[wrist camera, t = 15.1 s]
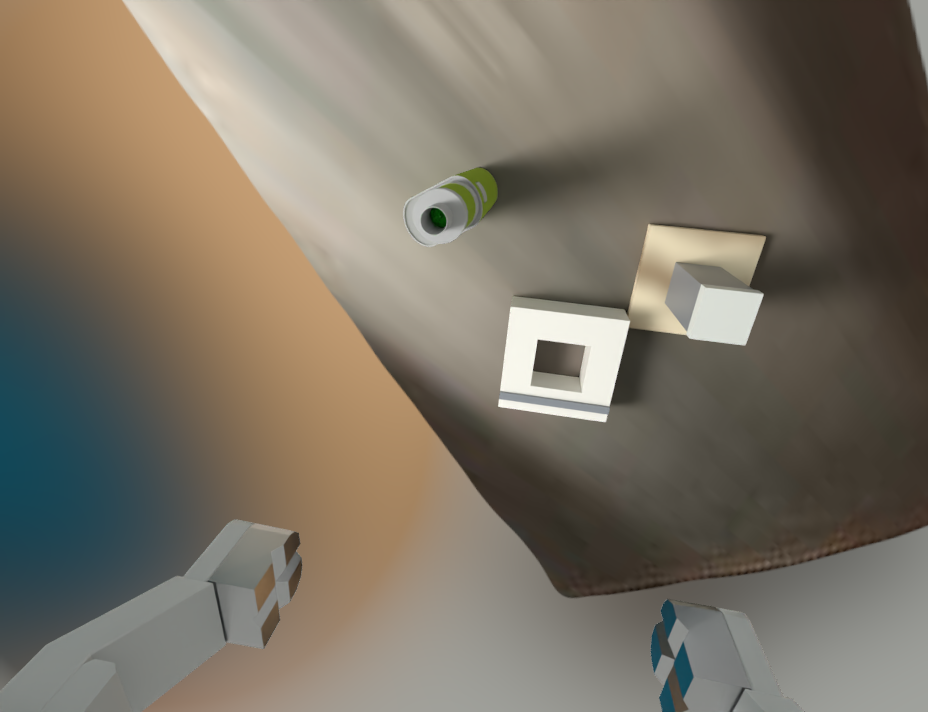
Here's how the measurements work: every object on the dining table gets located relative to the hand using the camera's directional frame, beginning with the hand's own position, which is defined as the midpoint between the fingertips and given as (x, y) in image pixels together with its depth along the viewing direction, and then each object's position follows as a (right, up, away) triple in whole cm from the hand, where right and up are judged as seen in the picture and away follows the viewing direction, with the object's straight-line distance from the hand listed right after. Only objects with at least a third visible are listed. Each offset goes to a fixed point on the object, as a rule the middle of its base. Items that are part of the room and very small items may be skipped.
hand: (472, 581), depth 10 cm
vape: (0, +20, +34) cm, 40 cm away
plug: (+21, +12, +34) cm, 42 cm away
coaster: (+21, +12, +34) cm, 42 cm away
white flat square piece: (+10, +5, +39) cm, 41 cm away
